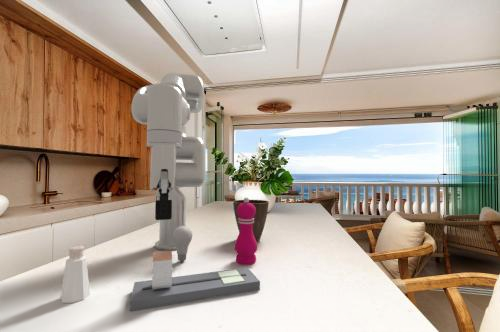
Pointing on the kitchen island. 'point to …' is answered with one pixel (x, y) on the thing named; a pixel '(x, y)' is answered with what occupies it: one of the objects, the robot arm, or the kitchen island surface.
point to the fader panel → (193, 288)
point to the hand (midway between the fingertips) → (163, 215)
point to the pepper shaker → (75, 277)
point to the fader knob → (162, 270)
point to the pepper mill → (246, 234)
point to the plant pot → (255, 216)
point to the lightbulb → (182, 241)
